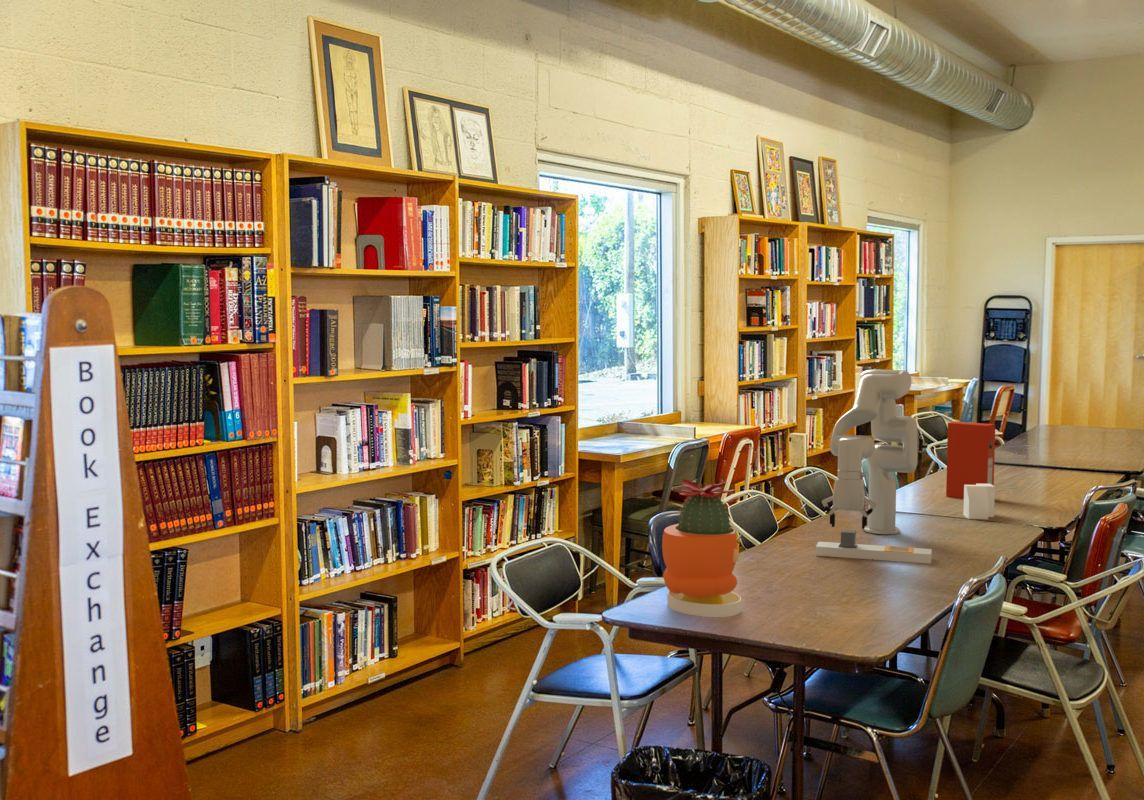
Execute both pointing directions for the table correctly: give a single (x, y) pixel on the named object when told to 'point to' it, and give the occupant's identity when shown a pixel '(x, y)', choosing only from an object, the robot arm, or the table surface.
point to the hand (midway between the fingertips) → (848, 527)
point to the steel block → (848, 539)
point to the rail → (875, 552)
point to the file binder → (969, 456)
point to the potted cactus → (701, 555)
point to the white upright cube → (979, 501)
